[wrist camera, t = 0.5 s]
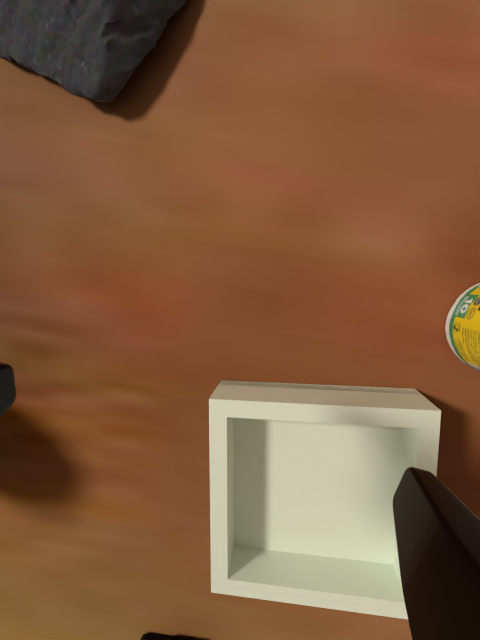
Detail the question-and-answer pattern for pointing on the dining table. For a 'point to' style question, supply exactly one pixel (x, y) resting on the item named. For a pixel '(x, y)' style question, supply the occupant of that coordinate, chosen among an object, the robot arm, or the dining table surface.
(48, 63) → the dark slate chunk
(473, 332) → the supplement bottle
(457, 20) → the dining table surface
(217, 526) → the bin
